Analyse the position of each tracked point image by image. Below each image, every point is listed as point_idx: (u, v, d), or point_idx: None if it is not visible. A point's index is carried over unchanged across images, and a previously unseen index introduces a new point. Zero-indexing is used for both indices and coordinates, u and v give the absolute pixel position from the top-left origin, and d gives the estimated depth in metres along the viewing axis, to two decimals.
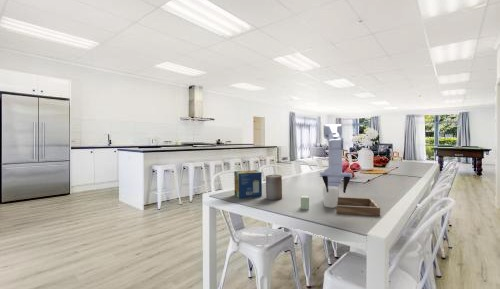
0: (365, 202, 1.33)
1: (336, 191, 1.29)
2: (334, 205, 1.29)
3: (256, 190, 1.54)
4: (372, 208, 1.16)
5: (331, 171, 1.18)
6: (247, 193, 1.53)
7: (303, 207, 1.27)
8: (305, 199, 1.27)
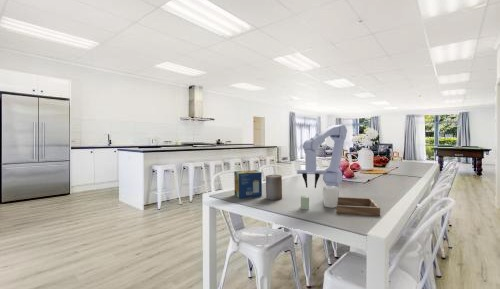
0: (365, 202, 1.33)
1: (336, 191, 1.29)
2: (334, 205, 1.29)
3: (256, 190, 1.54)
4: (372, 208, 1.16)
5: (306, 169, 1.33)
6: (247, 193, 1.53)
7: (303, 207, 1.27)
8: (305, 199, 1.27)
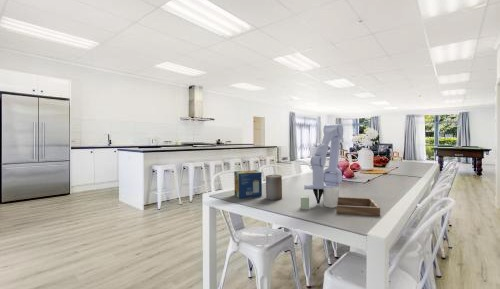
0: (365, 202, 1.33)
1: (336, 191, 1.29)
2: (334, 205, 1.29)
3: (256, 190, 1.54)
4: (372, 208, 1.16)
5: (314, 184, 1.32)
6: (247, 193, 1.53)
7: (303, 207, 1.27)
8: (305, 199, 1.27)
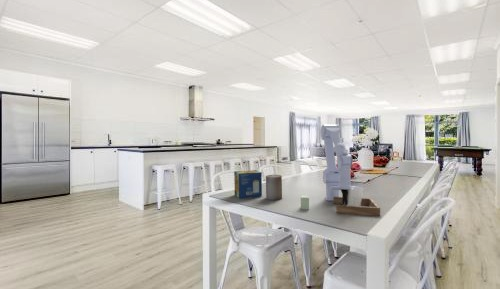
0: (365, 202, 1.33)
1: (362, 192, 1.27)
2: None
3: (256, 190, 1.54)
4: (372, 208, 1.16)
5: (340, 185, 1.29)
6: (247, 193, 1.53)
7: (303, 207, 1.27)
8: (305, 199, 1.27)
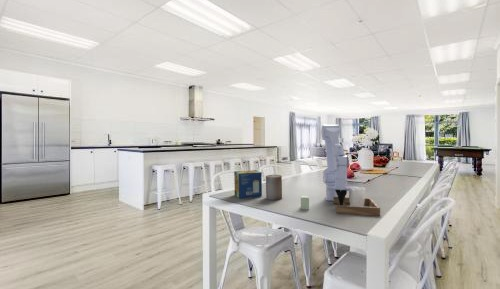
0: (365, 202, 1.33)
1: (364, 192, 1.26)
2: (362, 206, 1.27)
3: (256, 190, 1.54)
4: (372, 208, 1.16)
5: (337, 185, 1.29)
6: (247, 193, 1.53)
7: (303, 207, 1.27)
8: (305, 199, 1.27)
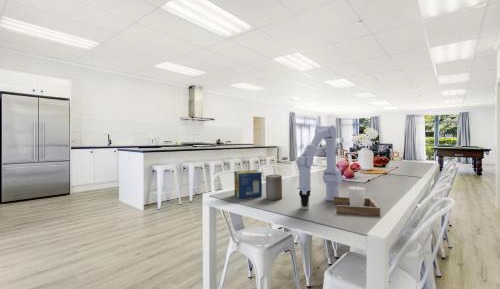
0: (365, 202, 1.33)
1: (364, 192, 1.26)
2: (362, 206, 1.27)
3: (256, 190, 1.54)
4: (372, 208, 1.16)
5: None
6: (247, 193, 1.53)
7: (303, 207, 1.27)
8: None
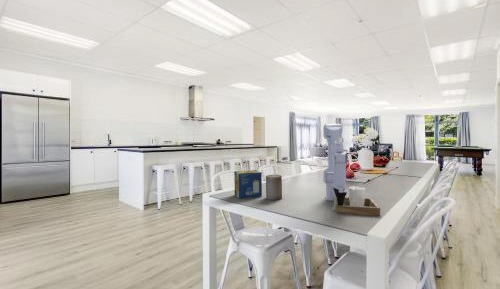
0: (365, 202, 1.33)
1: (364, 192, 1.26)
2: (362, 206, 1.27)
3: (256, 190, 1.54)
4: (372, 208, 1.16)
5: None
6: (247, 193, 1.53)
7: None
8: None
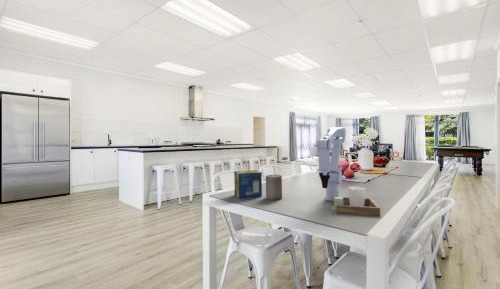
0: (365, 202, 1.33)
1: (364, 192, 1.26)
2: (362, 206, 1.27)
3: (256, 190, 1.54)
4: (372, 208, 1.16)
5: None
6: (247, 193, 1.53)
7: None
8: (339, 200, 1.23)
